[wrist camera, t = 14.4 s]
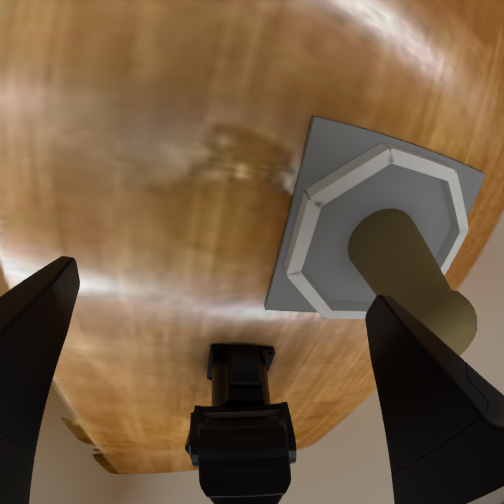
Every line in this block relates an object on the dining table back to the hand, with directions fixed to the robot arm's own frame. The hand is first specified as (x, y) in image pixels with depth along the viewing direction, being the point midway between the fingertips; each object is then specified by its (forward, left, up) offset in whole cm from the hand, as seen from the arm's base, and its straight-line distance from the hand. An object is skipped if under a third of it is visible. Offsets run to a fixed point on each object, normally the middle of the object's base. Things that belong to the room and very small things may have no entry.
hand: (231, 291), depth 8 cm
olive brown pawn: (-5, -12, -12) cm, 18 cm away
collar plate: (-5, -12, -12) cm, 18 cm away
